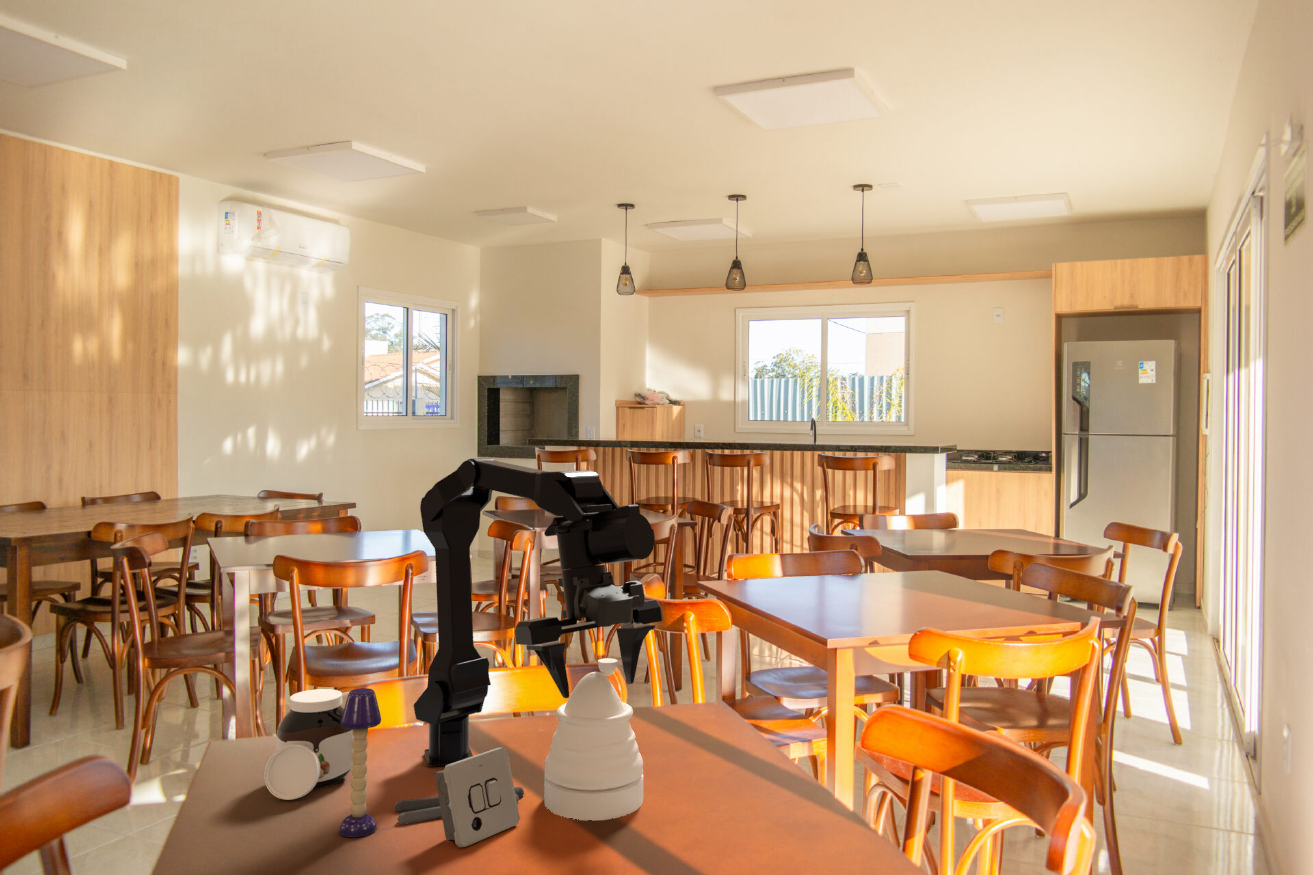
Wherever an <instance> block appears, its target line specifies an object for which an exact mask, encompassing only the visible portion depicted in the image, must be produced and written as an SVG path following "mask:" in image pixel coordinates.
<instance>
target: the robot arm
mask: <svg viewBox="0 0 1313 875" xmlns="http://www.w3.org/2000/svg"><path fill="white" fill-rule="evenodd" d="M493 491H494V492H499V493H503V494H507V495H510V496H516V497H519V498H524V499H528V500H530V501H532V502H534V503H535V504H536V506H537V507H538V509H541V510H543V511H545V512H547V513H549V514H550V515H552V516H555V517H553V519H552V521H551V523H550V525H548V527H547V528H546V529H545V530H544V536H545V537H555V536H556V539H557V540H556V541H557V549H558V556H559V562H560V563H559V565H560V572H561V578H560V577H559V578H557V579H558V580H557V582H558V587H562V589H563V594H564V595H563V596H564V604H565V609H564V610H561V613H562V618H563V619H559V618H558V616H557V617H556V616H555V617H553V616H551V617H546V616H545V617H538V618H531V619H526V620H525V619H524V620H521V621H518V622H517V624H516V625H515V628H514V637H515V638H514V639H515V645H520V646H521V645H522V646H523V645H525V646H526V650H527V651H534V652H535V654H536V655H537V657H538V658H539V660H540V661H541V662H542V664H544V666H545V667H546V669H547V671H548V673H549V675H550V676H551V678H552V680H553V682H554V684H555V685H556V687H557V689H558V691H559V692H560V695H561V696H562V698H563V699H569V697H570V685H569V679H568V674H567V667H566V662H565V657H564V654H565V648H566V642H560V638H561V637H562V635H565V634H571V633H576V632H582V631H586V630H592V629H593V630H594V629H598V628H608V627H609V628H610V627H611V626H613V625H614V626H615V625H619V624H621V627H617V628H616V629H615V630H616V635H617V640H618V646H619V651H620V658H621V663H622V668H623V669H622V670H623V674H624V676H625V681H626V684H629V685H632V684H634V682H635V678H636V672H637V668H638V663H639V657H640V653H641V649H642V646H643V643H644V640H645V638H646V637H647V635H648V634H649V633H650V632H651V631H653V630H655V629H656V624H655V623H658V622H663V621H664V614H663V607H662V606H661V605H660V602H659V601H658V600H656V599H650V600H649V599H647V600H646V599H645V597H646V596H645V591H644V587H643V583H642V582H640V581H639V580H632V581H627V582H624V583H623V585H621V586H616V585H615V583H614V577H613V574H612V571H608V572H607V567H606V565H608V564H609V565H610V564H618V563H624V562H625V563H626V562H635V561H640V560H642V561H643V560H646V559H647V558H648V557H650V555H651V554H652V552H653V551H654V547H655V541H656V538H655V531H654V529H653V528H652V525H651V523H650V522H649V520H648V518H646V516H644V515H643V514H641V511H640V510H641V509H640V505H638V504H629V505H622V506H619V505H618V503H617V502H616V501H615V500H614V498H613V497H612V495H611V494H610V493H609V492H608V490H607V488H605V487H604V485H603V483H602V481H601V479H600V475H599V474H598V473H597V472H595V471H594V470H591V469H590V470H585V469H584V470H570V471H569V470H567V471H566V470H563V471H546V470H542V469H538V468H537V469H536V468H532V467H527V466H523V465H518V464H514V463H513V464H512V463H507V462H503V461H497V460H496V459H494V458H491V457H489V458H488V457H487V458H468V459H466V460H464V461H463V462H462V463H461V464H460V465H459V466H458V468H456V470H454V471H453V472H451V473H450V474H448V475H446V476H444V477H443V478H441V479H440V480H439V481H437V482H435V484H434V485H433V486H432V487H431V488H430V489H429V490H428V491H426V493H425V494H424V497H422V498H421V500H420V506H419V508H420V510H419V511H420V517H421V523H422V530H423V532H424V535H425V536H426V538H427V539H428V541H429V542H430V544H431V545H432V546H433V548H434V553H435V555H434V556H435V557H434V559H435V579H436V580H435V581H436V582H435V584H436V604H437V605H436V609H437V611H436V612H437V632H438V634H437V635H438V637H437V638H438V649H437V651H436V653H435V656H433V659H432V661H431V664H430V666H429V667H428V673H427V674H428V676H427V687H426V688H425V689H424V691H423V692H422V694H421V695H420V696H419V697H418V698H417V700H415V702H414V703H413V710H414V714H415V715H414V716H415V719H416V720H417V721H420V722H423V723H427V724H428V748H426V749H424V753H423V754H424V757H425V759H426V764H427V766H428V767H437V766H446V765H448V764H451V763H454V762H457V761H460V760H463V759H466V758H469V757H472V756H474V755H473V753H472V751H471V747H470V745H469V743H470V742H469V741H470V738H469V736H470V732H469V731H470V730H469V729H470V728H469V726H470V722H469V721H470V716H471V715H474V714H479V713H482V710H483V706H484V703H485V700H486V698H487V696H488V692H489V686H491V685H492V683H491V679H490V674H489V673H490V671H489V670H490V669H489V668H490V662H489V658H488V657H482V656H481V654H480V653H479V652H478V650H477V649H476V647H475V642H474V627H473V626H474V624H473V622H474V621H473V619H474V618H473V599H472V598H473V597H472V570H471V569H472V568H471V545H472V543H473V542H474V540H475V538H476V536H477V534H478V532H479V529H480V526H481V525H480V524H481V523H480V522H481V514H482V513H481V512H482V511H483V510H484V509H485V507H486V506H487V505H488V504H489V503H490V502H491V501H492V494H493ZM582 619H584V620H582Z"/></svg>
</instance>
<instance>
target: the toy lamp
mask: <svg viewBox="0 0 1313 875" xmlns="http://www.w3.org/2000/svg"><path fill="white" fill-rule="evenodd" d="M378 703H379V702H378V699H377V696H376V692H375V690H374V689H372V688H366V687H364V688H355V689H352V690H350V691H349V692H348V694H347V698H346V701H345V705H344V707H343V708H344V711H343V715H342V719H341V726H342V727H344V728H347V729H353V730H352V733H353V737H354V739H353V742H352V748H353V750H354V751H353V753H352V762H353V765H352V768H351V770H350V771H351V776H352V779H351V783H350V785H351V789H352V790H351V795H350V799H351V803H352V804H351V807H350V813H351V814H349V815H348V816H346V817H345V818H344V819H343V820H342V822H341V824H340V826H339V835H341V836H343V837H348V838H359V837H364V836H368V835H370V834H372V833H374V832H375V831H376V830H377V823H376V820H375V818H374V817H373V816H372V815H371V814H369V813H366V811H367V804H366V800H367V798H368V797H367V790H366V787H367V784H368V778H367V776H366V775H367V772H368V765H367V760H368V751H367V748H368V744H369V742H368V738H367V736H368V734H369V729H372V728H375V727H377V726H379V725H380V724H381V722H382V716H381V711H380V707H379V704H378Z"/></svg>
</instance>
